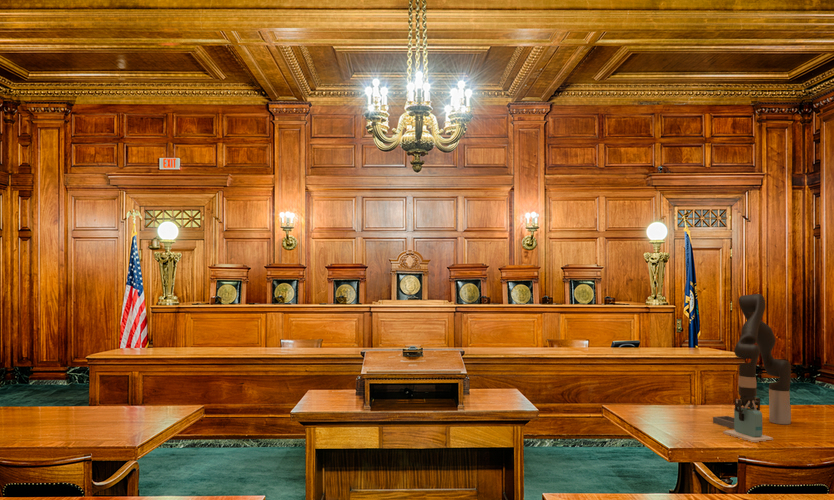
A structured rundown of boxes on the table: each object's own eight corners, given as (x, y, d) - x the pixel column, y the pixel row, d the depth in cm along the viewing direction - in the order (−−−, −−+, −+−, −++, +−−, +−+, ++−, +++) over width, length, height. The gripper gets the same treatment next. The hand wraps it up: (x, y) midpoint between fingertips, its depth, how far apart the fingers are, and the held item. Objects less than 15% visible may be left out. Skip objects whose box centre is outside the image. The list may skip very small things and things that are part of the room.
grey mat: (743, 431, 282) (743, 429, 282) (773, 440, 267) (773, 437, 267) (723, 433, 278) (723, 430, 278) (752, 442, 263) (752, 439, 263)
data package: (762, 437, 268) (762, 411, 268) (755, 437, 266) (755, 412, 267) (741, 430, 279) (741, 405, 280) (734, 431, 278) (733, 406, 278)
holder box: (727, 421, 302) (727, 415, 302) (756, 429, 286) (756, 423, 286) (713, 422, 298) (713, 417, 299) (741, 431, 282) (741, 425, 283)
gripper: (751, 383, 280) (751, 417, 279) (729, 384, 275) (729, 419, 274) (765, 386, 273) (765, 421, 272) (743, 387, 268) (743, 423, 267)
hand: (747, 420), depth 273 cm, fingers open, 7 cm apart
